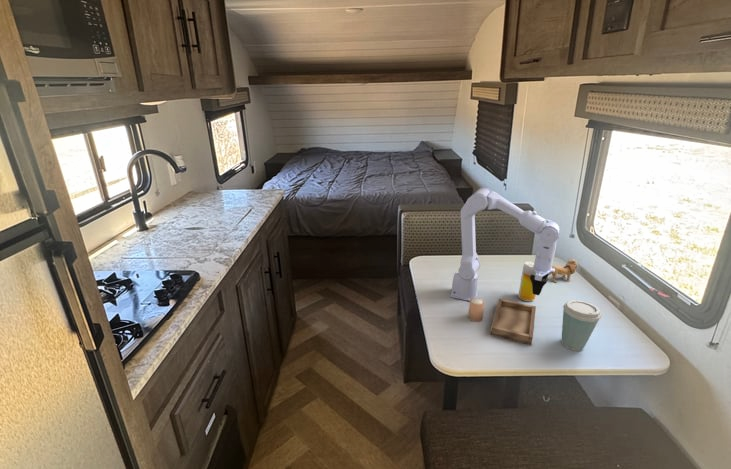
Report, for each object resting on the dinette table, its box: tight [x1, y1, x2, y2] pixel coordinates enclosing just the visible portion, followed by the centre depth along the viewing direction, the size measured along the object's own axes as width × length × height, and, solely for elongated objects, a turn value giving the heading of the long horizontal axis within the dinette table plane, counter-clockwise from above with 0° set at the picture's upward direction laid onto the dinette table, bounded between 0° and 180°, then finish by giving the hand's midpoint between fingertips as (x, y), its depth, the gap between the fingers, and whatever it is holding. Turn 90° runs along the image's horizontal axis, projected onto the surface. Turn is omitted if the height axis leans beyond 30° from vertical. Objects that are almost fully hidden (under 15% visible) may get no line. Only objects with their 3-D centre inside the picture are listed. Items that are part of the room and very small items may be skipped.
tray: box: [490, 298, 537, 346], centre depth 133 cm, size 13×20×3 cm, turn 155°
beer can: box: [518, 260, 536, 302], centre depth 146 cm, size 6×6×15 cm
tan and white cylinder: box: [467, 297, 485, 323], centre depth 136 cm, size 5×5×7 cm
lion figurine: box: [547, 259, 579, 284], centre depth 161 cm, size 15×5×9 cm, turn 103°
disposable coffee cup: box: [561, 299, 602, 352], centre depth 120 cm, size 11×11×15 cm
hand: (538, 289), depth 136 cm, fingers open, 7 cm apart
